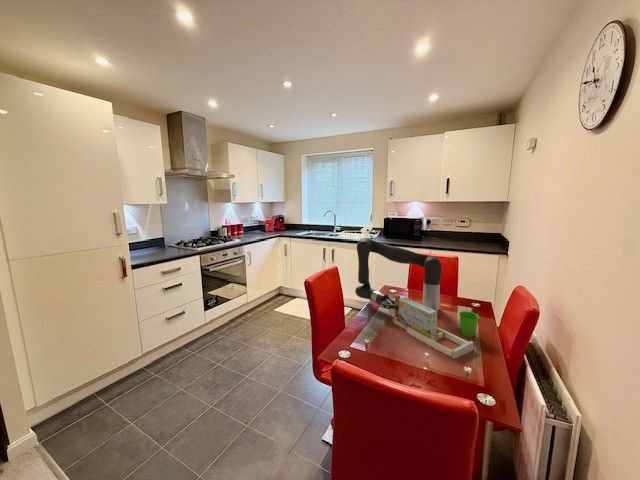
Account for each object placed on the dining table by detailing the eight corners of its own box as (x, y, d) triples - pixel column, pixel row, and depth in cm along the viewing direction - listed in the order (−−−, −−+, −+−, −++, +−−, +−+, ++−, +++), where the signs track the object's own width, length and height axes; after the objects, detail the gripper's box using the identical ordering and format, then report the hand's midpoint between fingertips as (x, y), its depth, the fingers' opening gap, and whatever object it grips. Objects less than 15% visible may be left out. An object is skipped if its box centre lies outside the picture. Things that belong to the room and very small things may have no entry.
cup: (476, 342, 128) (478, 321, 127) (455, 336, 134) (457, 316, 132) (479, 334, 136) (480, 313, 134) (459, 329, 141) (460, 309, 139)
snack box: (397, 324, 148) (398, 298, 145) (404, 321, 151) (405, 296, 148) (429, 342, 130) (430, 313, 127) (437, 339, 132) (438, 310, 130)
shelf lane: (424, 326, 145) (424, 319, 145) (473, 350, 122) (473, 342, 121) (406, 333, 139) (406, 325, 138) (454, 360, 116) (455, 351, 115)
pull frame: (401, 315, 157) (402, 293, 155) (444, 337, 133) (445, 311, 131) (388, 320, 152) (388, 297, 150) (430, 343, 128) (431, 316, 126)
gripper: (371, 295, 160) (392, 305, 146) (388, 290, 167) (410, 299, 152) (371, 306, 162) (392, 317, 147) (388, 301, 169) (409, 311, 154)
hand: (401, 308), depth 150 cm, fingers closed on pull frame, 3 cm apart
